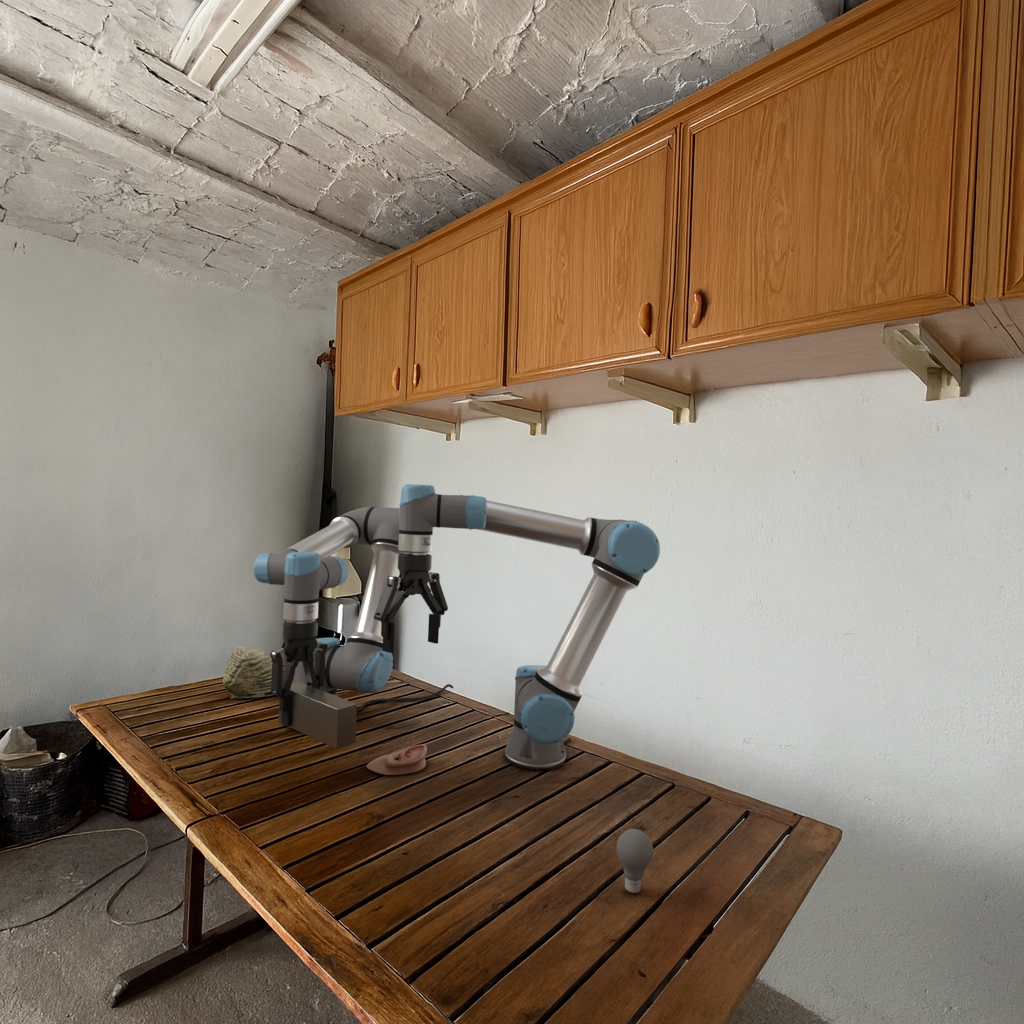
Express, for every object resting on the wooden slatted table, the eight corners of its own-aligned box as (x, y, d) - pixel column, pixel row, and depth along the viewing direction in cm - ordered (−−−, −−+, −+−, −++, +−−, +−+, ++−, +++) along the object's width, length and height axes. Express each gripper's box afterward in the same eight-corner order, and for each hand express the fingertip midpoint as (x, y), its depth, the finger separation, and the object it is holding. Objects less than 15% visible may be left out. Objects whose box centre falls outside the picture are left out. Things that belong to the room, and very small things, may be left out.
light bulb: (610, 879, 108) (613, 822, 108) (644, 879, 109) (647, 822, 109) (619, 902, 102) (622, 840, 102) (655, 901, 103) (658, 840, 103)
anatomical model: (361, 754, 146) (381, 736, 157) (360, 771, 146) (380, 752, 157) (415, 762, 143) (432, 743, 155) (415, 779, 143) (431, 759, 155)
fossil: (218, 695, 195) (220, 647, 195) (278, 685, 208) (279, 640, 207) (228, 703, 189) (230, 653, 188) (289, 692, 201) (290, 645, 201)
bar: (278, 722, 145) (279, 685, 145) (297, 716, 149) (298, 681, 149) (336, 749, 131) (337, 709, 131) (355, 742, 135) (357, 703, 135)
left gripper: (273, 628, 135) (269, 736, 135) (343, 617, 149) (340, 715, 149) (254, 622, 139) (251, 727, 140) (324, 613, 153) (321, 708, 154)
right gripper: (382, 556, 130) (378, 659, 131) (465, 552, 150) (461, 641, 150) (359, 553, 135) (355, 652, 135) (442, 549, 154) (438, 636, 155)
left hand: (297, 721), depth 145 cm, fingers closed on bar, 5 cm apart
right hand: (411, 647), depth 143 cm, fingers open, 13 cm apart
